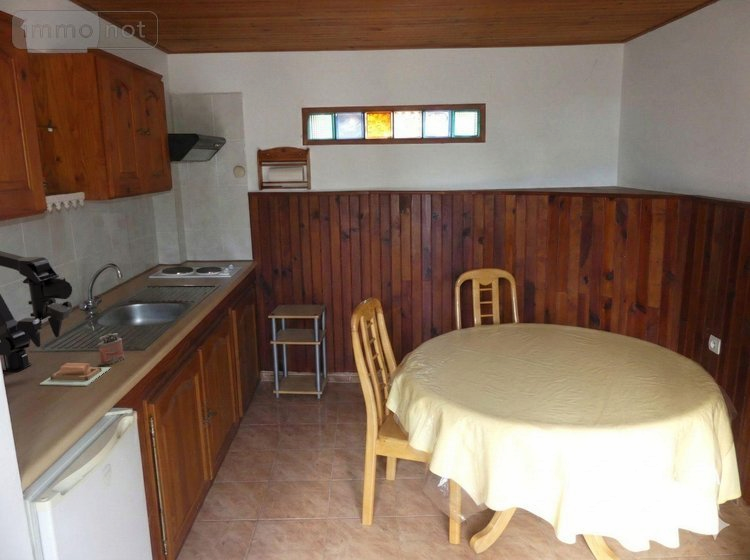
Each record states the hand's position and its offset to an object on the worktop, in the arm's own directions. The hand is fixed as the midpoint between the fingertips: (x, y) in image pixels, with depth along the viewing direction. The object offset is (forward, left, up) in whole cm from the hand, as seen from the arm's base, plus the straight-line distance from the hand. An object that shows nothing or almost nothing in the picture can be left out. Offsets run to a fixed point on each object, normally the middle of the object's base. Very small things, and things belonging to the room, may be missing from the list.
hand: (48, 341), depth 192 cm
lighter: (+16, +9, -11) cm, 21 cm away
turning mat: (+11, -4, -11) cm, 16 cm away
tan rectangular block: (+11, -4, -10) cm, 15 cm away
